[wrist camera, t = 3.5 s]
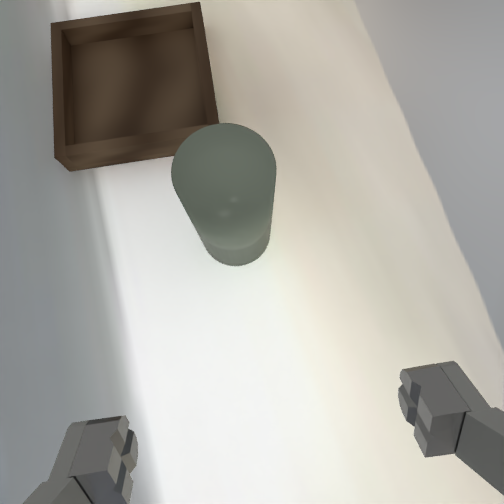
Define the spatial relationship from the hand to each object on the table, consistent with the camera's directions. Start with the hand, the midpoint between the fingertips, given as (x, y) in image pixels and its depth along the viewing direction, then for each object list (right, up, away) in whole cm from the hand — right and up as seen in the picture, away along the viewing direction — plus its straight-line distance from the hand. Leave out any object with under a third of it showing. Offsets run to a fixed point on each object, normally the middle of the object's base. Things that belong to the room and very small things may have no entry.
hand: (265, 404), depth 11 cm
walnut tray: (-10, +17, +19) cm, 28 cm away
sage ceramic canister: (-2, +6, +16) cm, 17 cm away
